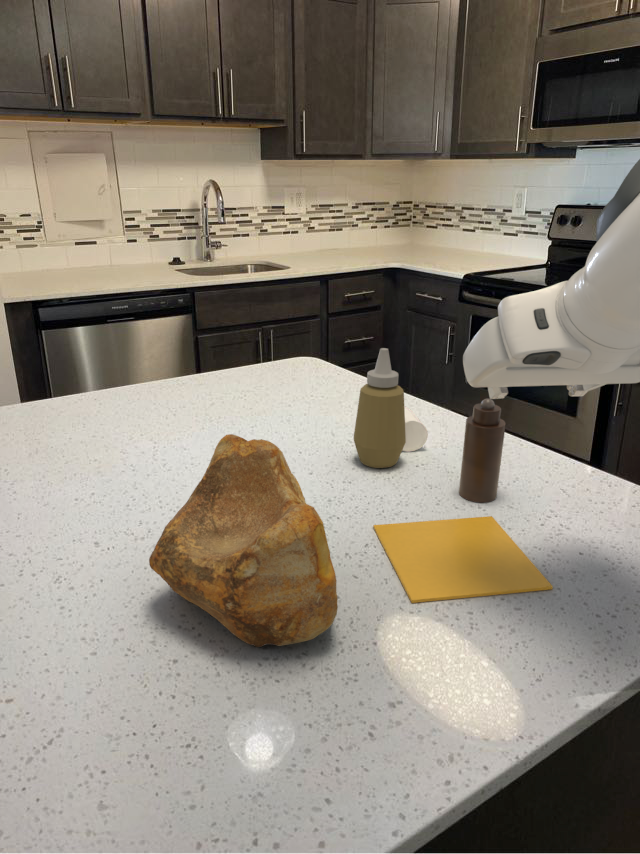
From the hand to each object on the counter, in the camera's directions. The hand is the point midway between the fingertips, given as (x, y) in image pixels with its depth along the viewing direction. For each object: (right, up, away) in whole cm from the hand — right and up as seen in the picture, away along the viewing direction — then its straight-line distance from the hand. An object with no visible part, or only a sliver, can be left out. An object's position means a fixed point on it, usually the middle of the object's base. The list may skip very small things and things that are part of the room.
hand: (534, 392), depth 75 cm
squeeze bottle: (-15, -10, +29) cm, 34 cm away
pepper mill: (-2, -13, +19) cm, 23 cm away
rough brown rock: (-33, -22, -5) cm, 40 cm away
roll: (-11, -6, +38) cm, 40 cm away
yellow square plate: (-8, -19, +3) cm, 21 cm away
